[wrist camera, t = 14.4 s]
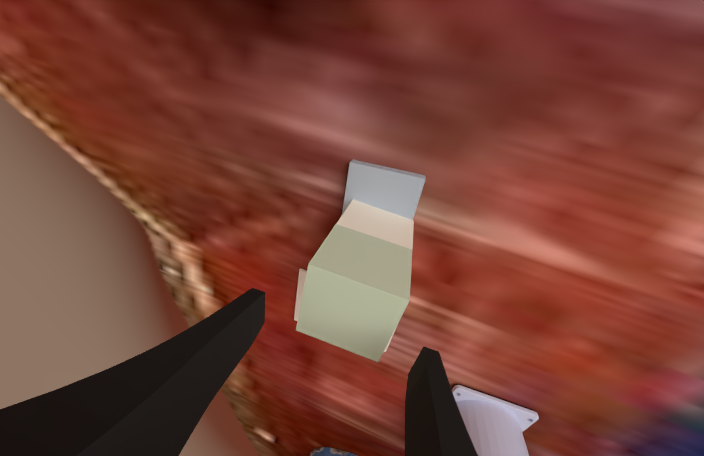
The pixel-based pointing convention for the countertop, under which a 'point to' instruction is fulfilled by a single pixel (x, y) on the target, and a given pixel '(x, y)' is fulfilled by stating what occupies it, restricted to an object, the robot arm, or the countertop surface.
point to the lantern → (329, 452)
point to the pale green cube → (355, 291)
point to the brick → (378, 223)
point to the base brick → (383, 188)
